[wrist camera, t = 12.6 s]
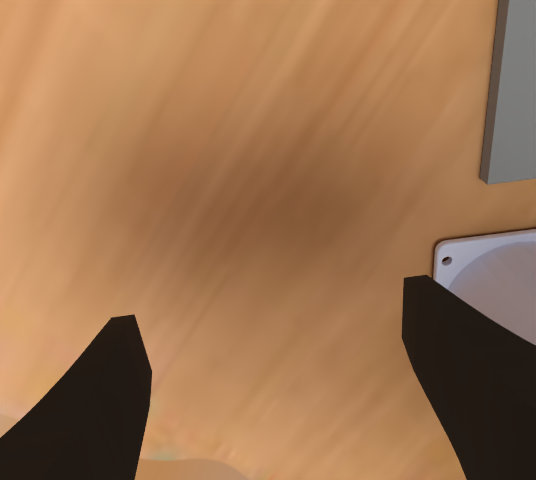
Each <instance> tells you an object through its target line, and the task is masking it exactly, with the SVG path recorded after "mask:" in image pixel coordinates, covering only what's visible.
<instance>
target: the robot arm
mask: <svg viewBox="0 0 536 480" xmlns="http://www.w3.org/2000/svg"><path fill="white" fill-rule="evenodd" d="M445 257H449V258H448V260H447V261H444V262H442V259H444V258H445ZM402 339H403V342H404V345H405V348H406V351H407V354H408V356H409V359H410V362H411V364H412V367H413V370H414V372H415V374H416V376H417V378H418V380H419V382H420V384H421V386H422V388H423V390H424V392H425V394H426V396H427V397H428V399H429V401H430V403H431V405H432V407H433V409H434V411H435V413H436V415H437V417H438V419H439V421H440V422H441V424H442V426H443V428H444V430H445V432H446V434H447V436H448V438H449V440H450V442H451V444H452V446H453V448H454V450H455V452H456V455H457V457H458V459H459V461H460V464H461V466H462V469H463V471H464V474H465V476H466V479H467V480H536V229H531V230H523V231H516V232H508V233H500V234H492V235H484V236H476V237H468V238H460V239H452V240H445V241H442V242H440V243H439V244H438V245H437V246H436V249H435V258H434V273H433V279H432V278H431V277H429V276H428V275H422V276H414V277H407V278H404V288H403V317H402ZM151 381H152V370H151V367H150V363H149V360H148V357H147V354H146V350H145V347H144V344H143V341H142V337H141V334H140V331H139V328H138V324H137V321H136V318H135V315H128V316H120V317H113V318H111V319H110V320H109V321H108V322H107V324H106V325H105V326H104V327H103V329H102V330H101V331H100V332H99V333H98V335H97V336H96V337H95V338H94V340H93V341H92V342H91V343H90V345H89V346H88V347H87V348H86V349H85V351H84V352H83V353H82V354H81V356H80V357H79V358H78V359H77V360H76V361H75V363H74V364H73V365H72V366H71V367H70V368H69V370H68V371H67V372H66V373H65V374H64V375H63V376H62V378H61V379H60V380H59V381H58V382H57V383H56V384H55V385H54V386H53V387H52V388H51V389H50V390H49V392H48V393H47V394H46V395H45V396H44V397H43V398H42V399H41V400H40V401H39V402H38V403H37V404H36V405H35V406H34V407H33V408H32V409H31V410H30V411H29V412H28V413H27V414H26V415H25V416H24V417H23V418H22V419H21V420H20V421H18V422H17V423H16V424H15V425H14V426H13V427H12V428H11V429H10V430H9V431H8V432H6V433H5V434H4V435H3V436H2V437H1V438H0V480H134V479H135V475H136V470H137V465H138V460H139V456H140V451H141V446H142V441H143V437H144V432H145V427H146V422H147V417H148V412H149V407H150V395H151Z"/></svg>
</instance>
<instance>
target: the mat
mask: <svg viewBox="0 0 536 480" xmlns="http://www.w3.org/2000/svg"><path fill="white" fill-rule="evenodd" d="M535 178H536V0H499V5H498V14H497V23H496V32H495V42H494V51H493V60H492V69H491V78H490V88H489V97H488V106H487V115H486V124H485V134H484V143H483V152H482V161H481V171H480V179H481V180H483V181H484V182H485V183H486V184H487V185H488V184H496V183H504V182H512V181H520V180H527V179H535Z"/></svg>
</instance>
